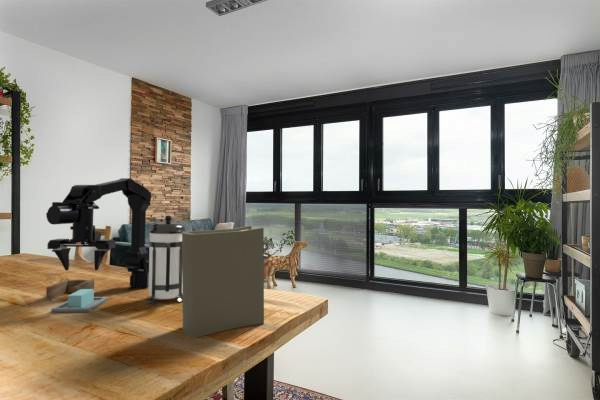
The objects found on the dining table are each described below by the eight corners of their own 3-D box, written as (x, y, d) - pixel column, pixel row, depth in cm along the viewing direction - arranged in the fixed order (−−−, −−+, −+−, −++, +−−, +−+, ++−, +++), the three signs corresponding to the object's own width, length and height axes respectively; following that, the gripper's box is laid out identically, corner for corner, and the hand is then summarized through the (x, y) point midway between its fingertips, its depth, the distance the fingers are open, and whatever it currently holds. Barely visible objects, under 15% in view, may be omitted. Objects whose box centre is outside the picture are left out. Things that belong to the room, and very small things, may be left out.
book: (189, 341, 88) (188, 232, 88) (179, 329, 96) (179, 229, 96) (263, 323, 100) (263, 228, 100) (249, 314, 108) (249, 225, 108)
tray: (107, 300, 120) (107, 296, 120) (88, 312, 107) (88, 308, 107) (74, 300, 119) (74, 297, 119) (51, 312, 106) (51, 308, 106)
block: (93, 289, 117) (81, 295, 109) (93, 300, 117) (81, 308, 109) (81, 289, 117) (68, 295, 109) (81, 300, 117) (67, 308, 109)
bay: (94, 291, 132) (94, 279, 132) (76, 300, 120) (77, 287, 120) (66, 291, 131) (66, 279, 131) (46, 300, 119) (46, 287, 119)
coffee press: (131, 302, 119) (133, 215, 119) (168, 291, 133) (170, 214, 133) (166, 310, 111) (168, 217, 111) (202, 298, 125) (204, 215, 125)
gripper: (122, 221, 122) (121, 265, 122) (67, 221, 120) (65, 265, 120) (108, 223, 111) (107, 272, 111) (46, 223, 109) (45, 272, 109)
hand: (81, 270), depth 113 cm, fingers open, 9 cm apart
